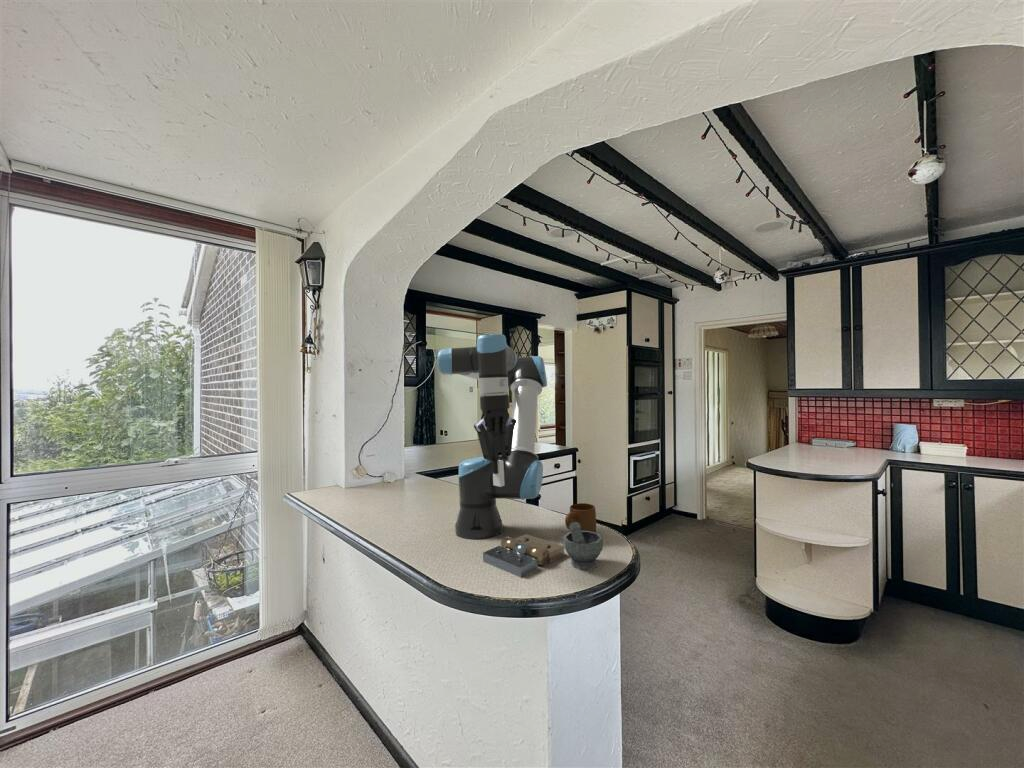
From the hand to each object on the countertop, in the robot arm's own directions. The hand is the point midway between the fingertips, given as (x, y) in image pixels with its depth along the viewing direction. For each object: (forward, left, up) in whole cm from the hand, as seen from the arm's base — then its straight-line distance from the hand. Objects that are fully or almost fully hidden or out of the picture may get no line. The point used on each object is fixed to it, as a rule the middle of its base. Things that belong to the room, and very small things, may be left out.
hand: (498, 485), depth 106 cm
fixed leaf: (+2, +9, -20) cm, 22 cm away
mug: (+6, +25, -21) cm, 33 cm away
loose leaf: (+2, +3, -20) cm, 21 cm away
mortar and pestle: (+16, +12, -21) cm, 29 cm away
